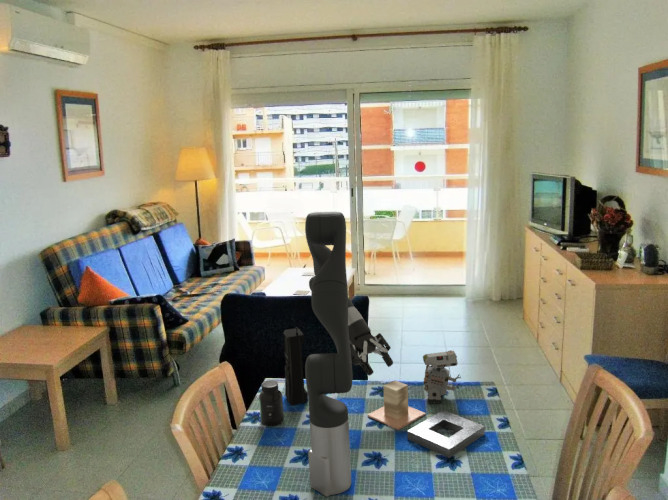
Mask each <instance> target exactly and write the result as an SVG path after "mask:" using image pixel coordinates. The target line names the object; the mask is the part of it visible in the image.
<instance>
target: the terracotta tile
mask: <svg viewBox="0 0 668 500" xmlns="http://www.w3.org/2000/svg"><path fill="white" fill-rule="evenodd" d="M425 415H426V412H424V411H421V410H418V409H416V408H414V407H412V406H409V405H408V414H406V415H405V416H403V417H401V418H399V419H395V418H392V417H390V416H388V415H385V414H384V405H383V406H382V407H380V408H378V409H376V410H374V411H372V412H370V413H367V417H368V418H370V419H373V420H374V421H377V422H379V423H381V424H384V425H386V426H388V427H390V428H393V429H395V430H397V431H400V430H401V429H403V428H405V427H406V426H408V425H410V424H411V423H414V422H415V421H417V420H419V419H420V418H422V417H424V416H425Z"/></svg>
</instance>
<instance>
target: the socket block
mask: <svg viewBox="0 0 668 500" xmlns="http://www.w3.org/2000/svg"><path fill="white" fill-rule="evenodd" d="M442 429H445V430H448V431H451V432H453V433H454V434H453V435H451V436H449V437H448V436H445V435H443V434H441V433H439V431H440V430H442ZM485 429H486V427H485V425H483V424H481V423H478V422H475V421H472V420H470V419H467V418H464V417H462V416H459V415H457V414H455V413H451V412H449V411H447V410H444V409H442V410H441V411H438V412H437V413H436V414H433V415H432V416H431V417H428V418H427V419H425V420H424V421H422V422H420V423H417V424H416V425H415V426H413V427H411V428H410V429H408V430H407V431H406V432H407V436H406V437H407V440H409V441H410V442H413V443H415V444H417V445H419V446H422V447H424V448H426V449H428V450H430V451H433V452H435V453H437V454H439V455H442V456H444V457H446V458H448V459H450V458H452V457H453V456H455V455H456V454H458V453H460V452H461V451H462V450H464V449H465V448H467V447H469V446H470V445H471V444H473V443H474V442H475V441H477V440H479V439H480V438H481V437H483V436H484V435H485V434H486V432H485Z"/></svg>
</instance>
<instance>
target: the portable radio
mask: <svg viewBox="0 0 668 500" xmlns="http://www.w3.org/2000/svg"><path fill="white" fill-rule="evenodd" d="M304 343H305V335H304V333H303V332H302V331H301V329H300V328H298V326H296V327H295V328H289V329H284V331H283V348H284V351H283V352H284V357H285V365H284V381H285V382H284V383H285V384H284V386H285V387H284V388H285V390H284V393H285V394H284V396H285V398H286V400H287V402H288V403H289V404H290V405H291V406H295V405H301V404H305V403H307V402H308V392H307V389H306V388H305V378H304V367H303V366H304V365H303V362H304V361H303V347H302V345H303V344H304Z"/></svg>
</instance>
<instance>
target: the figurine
mask: <svg viewBox="0 0 668 500" xmlns="http://www.w3.org/2000/svg"><path fill="white" fill-rule="evenodd" d="M457 358H458V356H457V354H456V352H455V351H454V350H448V351H442V352H433V353H432V352H431V353H425V354H423V356H422V360H423V363H424V365H425V371H424V378H423V385H424V387H423V390H424V391H425V392H426V393H427V395H428V396H427V401H426V402H427V403H428V404H432V405H433V404H436V405H440V404H442V402H443V401H442V397H441V396H445V395H446V394H447V391H456V389H460V386H461V385H460V383H458V385H456V386H454V385H452V386H451V385H448V384H449V381H451V382H453V383H456V382H457V380H458V379H462V376H461V375H460V374H458V375H457V376H456V377H451V376H450V370H449V369H448V367H455V366H456V367H457V366H458V359H457Z"/></svg>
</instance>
